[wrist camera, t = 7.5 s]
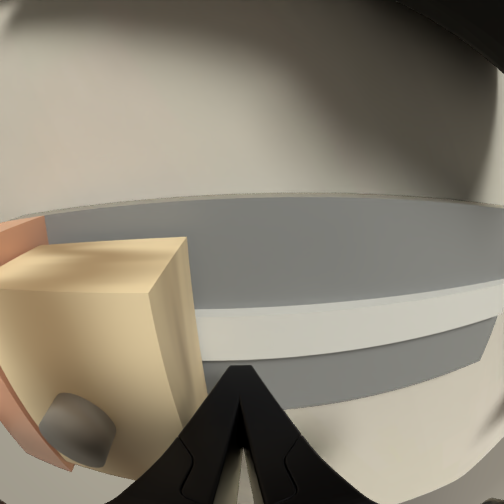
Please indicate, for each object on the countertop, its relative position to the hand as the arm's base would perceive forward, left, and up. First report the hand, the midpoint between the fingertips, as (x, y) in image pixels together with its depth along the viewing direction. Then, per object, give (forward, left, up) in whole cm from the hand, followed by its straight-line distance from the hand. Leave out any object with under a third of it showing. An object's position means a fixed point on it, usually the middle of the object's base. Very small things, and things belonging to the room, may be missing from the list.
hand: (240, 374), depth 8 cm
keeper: (-4, 0, -2) cm, 5 cm away
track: (+3, 0, -4) cm, 5 cm away
